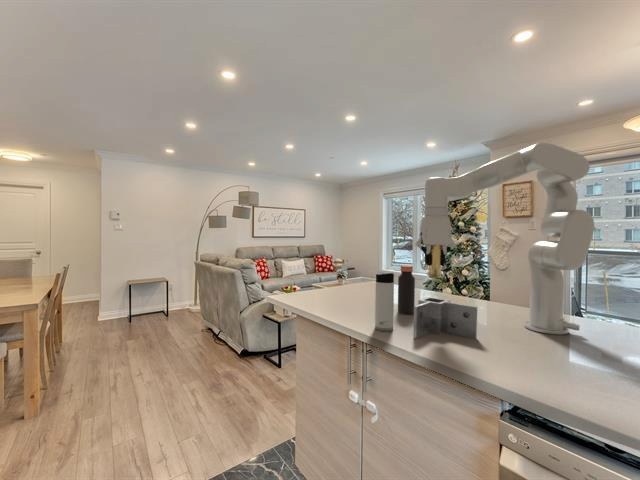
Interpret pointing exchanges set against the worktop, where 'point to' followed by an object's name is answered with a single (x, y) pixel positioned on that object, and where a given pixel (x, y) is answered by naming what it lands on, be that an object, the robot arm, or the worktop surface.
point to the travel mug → (384, 302)
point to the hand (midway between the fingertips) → (434, 264)
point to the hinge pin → (435, 261)
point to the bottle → (406, 290)
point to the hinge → (444, 318)
